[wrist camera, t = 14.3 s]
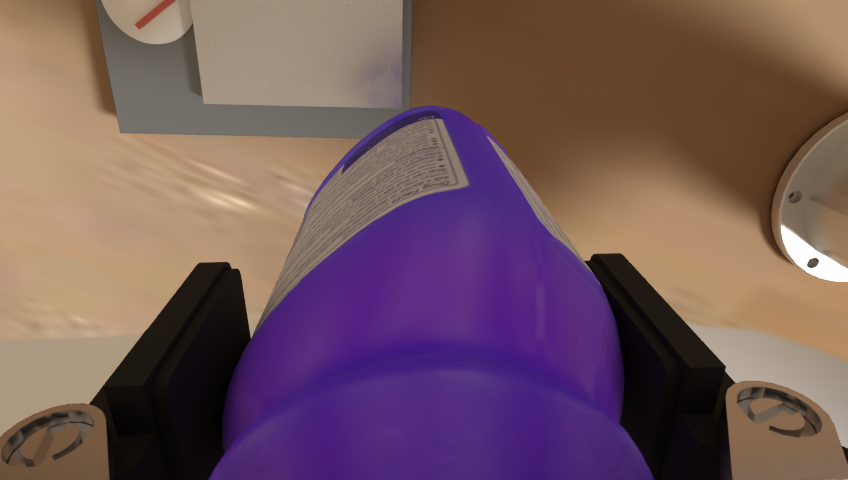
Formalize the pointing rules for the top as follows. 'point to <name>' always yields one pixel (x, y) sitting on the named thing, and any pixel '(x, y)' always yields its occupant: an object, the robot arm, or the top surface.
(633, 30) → the top surface
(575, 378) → the bottle
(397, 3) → the platform
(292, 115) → the scale
